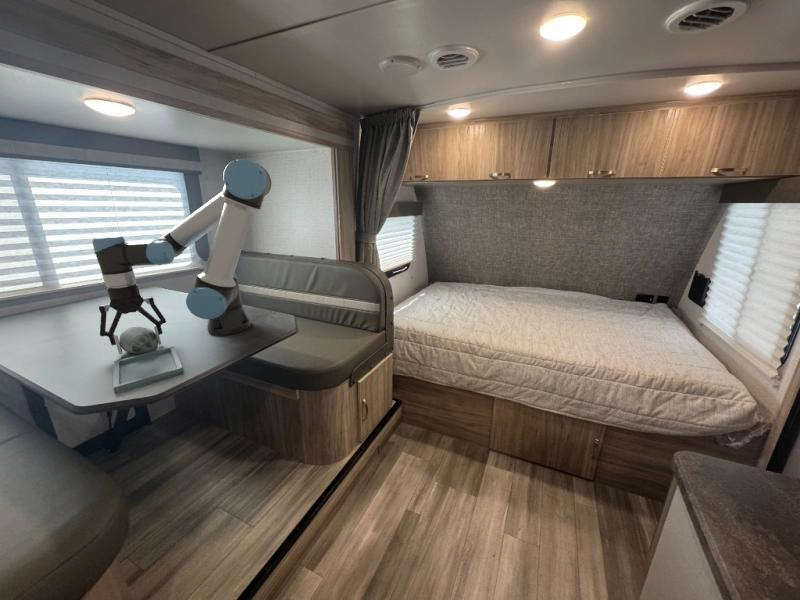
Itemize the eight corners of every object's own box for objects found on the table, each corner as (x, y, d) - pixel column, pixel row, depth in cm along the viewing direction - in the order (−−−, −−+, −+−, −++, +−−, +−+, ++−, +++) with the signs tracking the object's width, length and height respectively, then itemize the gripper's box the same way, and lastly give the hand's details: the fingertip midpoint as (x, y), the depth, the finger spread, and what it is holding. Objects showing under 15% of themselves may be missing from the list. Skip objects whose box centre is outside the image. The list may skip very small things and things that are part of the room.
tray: (175, 351, 106) (174, 345, 106) (183, 373, 92) (182, 367, 92) (116, 366, 97) (114, 361, 96) (115, 394, 83) (113, 387, 82)
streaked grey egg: (169, 340, 107) (144, 320, 102) (143, 362, 101) (115, 342, 96) (159, 339, 116) (135, 320, 111) (134, 359, 110) (108, 341, 105)
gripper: (163, 277, 109) (178, 335, 116) (74, 289, 96) (97, 354, 102) (165, 281, 104) (181, 341, 111) (71, 294, 90) (95, 362, 97)
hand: (141, 347), depth 107 cm, fingers closed on streaked grey egg, 10 cm apart
